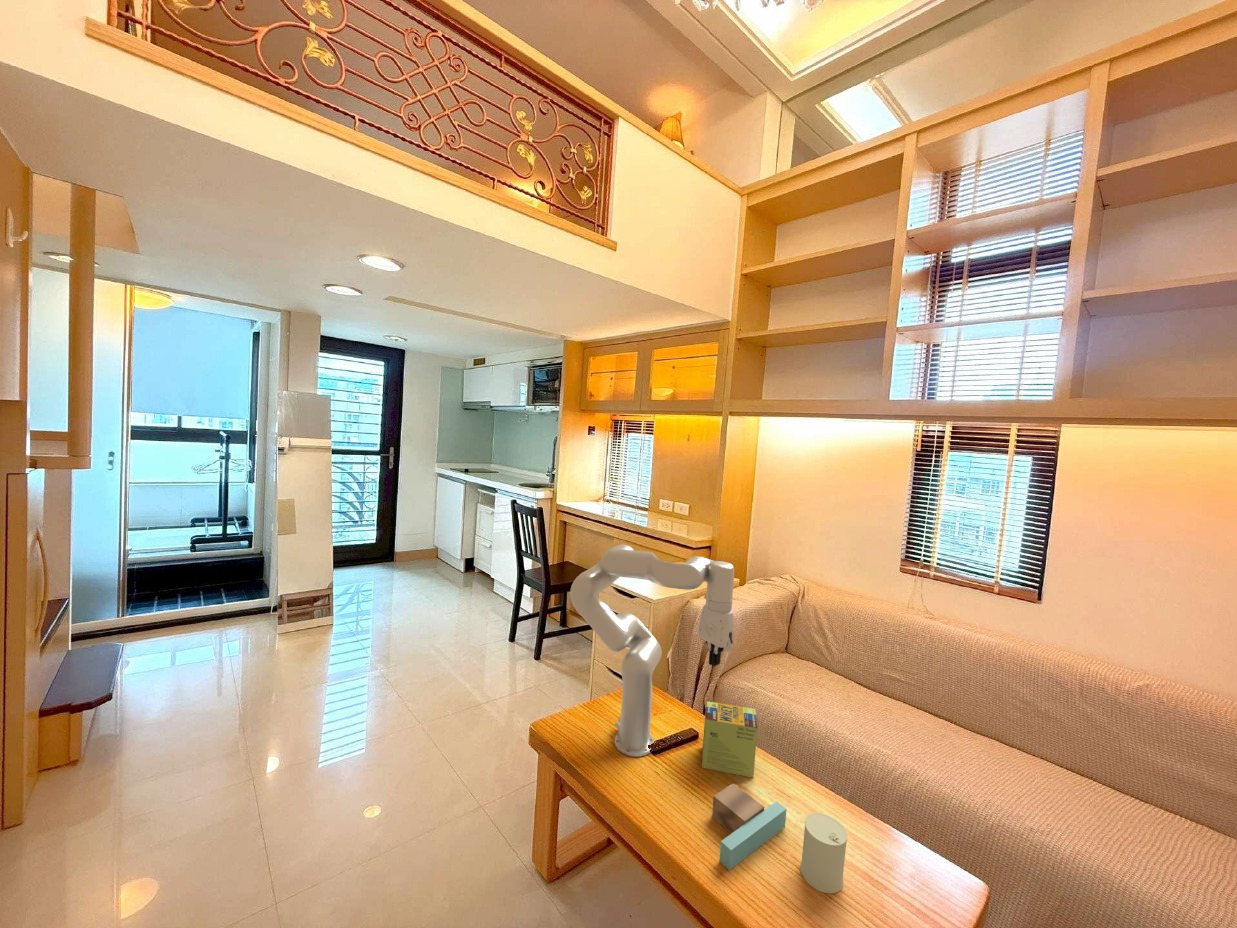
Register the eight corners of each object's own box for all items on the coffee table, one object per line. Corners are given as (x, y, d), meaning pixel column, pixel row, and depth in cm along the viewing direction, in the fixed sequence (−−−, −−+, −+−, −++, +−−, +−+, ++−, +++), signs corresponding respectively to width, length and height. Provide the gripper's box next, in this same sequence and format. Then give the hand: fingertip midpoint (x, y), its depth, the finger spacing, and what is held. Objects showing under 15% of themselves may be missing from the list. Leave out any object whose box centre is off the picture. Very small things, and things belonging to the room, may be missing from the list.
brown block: (712, 817, 130) (713, 795, 129) (731, 803, 135) (733, 783, 134) (743, 843, 122) (744, 821, 121) (762, 828, 127) (764, 806, 126)
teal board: (719, 860, 116) (720, 840, 116) (775, 819, 130) (776, 801, 129) (729, 870, 114) (731, 850, 114) (784, 826, 127) (786, 808, 127)
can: (821, 899, 108) (826, 848, 107) (791, 864, 117) (795, 816, 116) (852, 885, 112) (857, 836, 111) (820, 852, 120) (825, 806, 119)
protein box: (754, 778, 145) (758, 728, 144) (701, 768, 148) (704, 718, 147) (751, 755, 155) (755, 708, 154) (702, 746, 158) (705, 700, 157)
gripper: (691, 598, 148) (687, 657, 150) (730, 615, 136) (725, 678, 138) (708, 594, 153) (704, 651, 154) (747, 610, 141) (742, 671, 143)
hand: (714, 664), depth 146 cm, fingers closed
